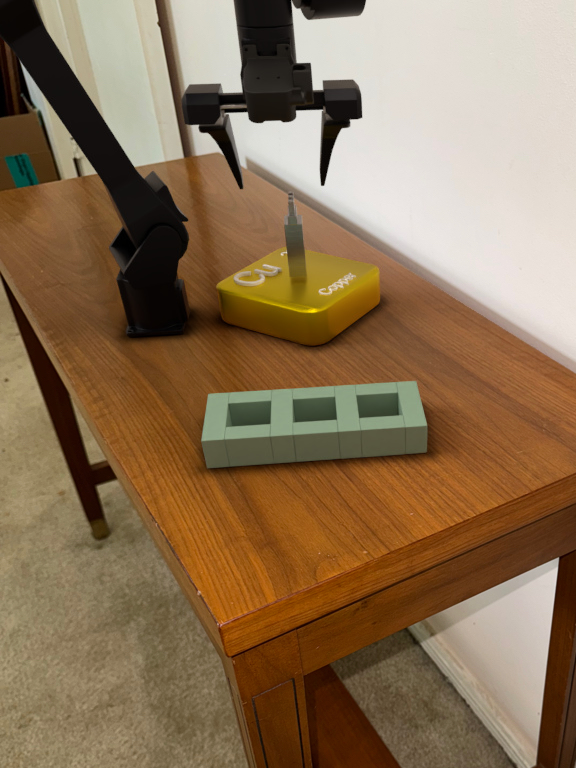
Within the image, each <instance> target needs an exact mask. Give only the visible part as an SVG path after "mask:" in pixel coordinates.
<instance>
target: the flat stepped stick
mask: <svg viewBox="0 0 576 768" xmlns="http://www.w3.org/2000/svg"><path fill="white" fill-rule="evenodd" d="M295 203H296V202H295V193H294V191H291V190H289V191H287V214H286V215H283V228H284V237H285V247H286V248H287V258H288V267H289V276H290V277H304V276H307V268H306V256H305V250H306V247H305V236H304V225H303V214H298V208H297V207H298V206H297V204H295Z"/></svg>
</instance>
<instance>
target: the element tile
mask: <svg viewBox="0 0 576 768" xmlns="http://www.w3.org/2000/svg"><path fill="white" fill-rule="evenodd" d="M305 256H306V268H307V276H304V277H290V276H289V267H288V258H287V248H286V246H283V247H280V248H277V249H275V250H274V251H272V252H270V253H268V254H267V255H265V256H263V257H261V258H259V259H258V260H256V261H254V262H252V263H251V264H249V265H247V266H245V267H243V268H242V269H240V270H238V271H236V272H234V273H233V274H231V275H229V276H227V277H225V278H224V279H222V280H221V281H219V282H217V284H216V286H215V289H216V294H217V298H218V299H217V301H218V305H219V311H220V316H221V317H220V318H221V319H222V321H223V322H225V323H226V324H228V325H230V326H231V325H232V326H235V327H239V328H243V329H245V330H249V331H252V332H257V333H259V334H263V335H267V336H271V337H273V338H278V339H281V340H285V341H288V342H292V343H296V344H299V345H304V346H310V347H316V346H321V345H324V344H327V343H328V342H330V341H331V340H332V339H334V338H335V337H336V336H338V335H339V334H340V333H342V332H343V331H345V330H346V329H347V328H348V327H350V326H351V325H353V324H354V323H356V322H357V321H358V320H359V319H360V318H361V319H362V317H364V316H365V315H367V313H370V311H371V310H373V309H374V308H375V307H377V306H378V305H379V304H380V301H381V273H380V269H379V267H378V266H377V265H375V264H372V263H369V262H364V261H359V260H354V259H349V258H345V257H341V256H336V255H332V254H327V253H323V252H319V251H314V250H310V249H305Z"/></svg>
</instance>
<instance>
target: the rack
mask: <svg viewBox="0 0 576 768" xmlns="http://www.w3.org/2000/svg"><path fill="white" fill-rule="evenodd" d="M204 413H205V414H204V420H203V426H202V433H201V439H200V442H201V447H202V451H203V455H204V460H205V464H206V469H217V468H218V469H219V468H230V467H231V468H232V467H244V466H245V467H246V466H259V465H272V464H273V465H274V464H287V463H298V462H299V463H300V462H301V463H302V462H315V461H329V460H340V459H341V460H343V459H358V458H373V457H386V456H388V457H389V456H402V455H412V454H413V455H414V454H426V453H427V452H428V423H427V418H426V414H425V411H424V406H423V403H422V399H421V394H420V389H419V387H418V381H417V380H405V381H391V382H374V383H360V384H358V383H357V384H343V385H341V384H340V385H329V386H328V385H327V386H312V387H311V386H310V387H297V388H280V389H279V388H278V389H263V390H248V391H247V390H246V391H232V392H217V393H215V392H214V393H208V394H207V399H206V408H205V412H204Z"/></svg>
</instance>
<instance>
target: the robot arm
mask: <svg viewBox="0 0 576 768" xmlns="http://www.w3.org/2000/svg"><path fill="white" fill-rule="evenodd" d="M366 3H367V0H233V7H234V15H235V21H236V22H235V23H236V32H237V41H238V48H239V56H240V64H241V67H240V74H239V77H240V83H241V91H242V92H239V91H238V92H224V91H223V86H222V83H191V84H188V86H187V87H186V89H185V90H184V92H183V95H182V97H181V99H180V100H181V101H180V102H181V110H182V111H181V112H182V116H183V122H184V125H187V126H198V127H197V128H198V131H199V133H200V134H208V135H209V136H210V137H211V138H212V139H213V141H215V143H216V145H217V146H218V148H219V149H220V151H221V153H222V155H223V156H224V159H225V161H226V163H227V165H228V167H229V168H230V171H231V173H232V176H233V177H234V179H235V183H236V185H237V186H238V189H239V190H244V188H245V187H244V177H243V170H242V165H241V161H240V156H239V152H238V148H237V144H236V138H235V136H234V135H235V134H234V131H233V127H232V122H231V117H230V114H240V113H241V114H242V113H247V117H248V120H249V121H250V122H252V123H254V124H264V123H265V122H278V121H279V122H282V123H291V122H294V121H295V120H296V118H297V112H298V111H301V112H302V111H321V118H320V120H321V121H320V145H319V146H320V147H319V179H320V180H319V181H320V186H321V187H324V186H325V185H326V180H327V175H328V172H329V167H330V163H331V158H332V154H333V150H334V147H335V144H336V142H337V139H338V137H339V134H340V132H341V131H342V130H343V129H348V128H351V121H352V120H360V119H363V97H362V92H361V89H360V86H359V84H358V83H357V82H356V81H355V79H353V78H351V79H322V89H314V86H313V73H312V64H311V62H297V49H296V48H297V47H296V37H295V26H294V16H293V15H294V14H293V13H294V12H293V6H294V8H295V9H297V10H300V11H301V14H302V15H303V17H304V18H305V19H306V20H307V21H314V20H315V21H316V20H325V19H338V18H349V17H360V16H361V15H362V14H363V12H364V10H365V8H366ZM0 38H1V40H3V42H5V44H6V45H7V46H8V47H9V48H10V49H11V50H12V52H13V53H14V55H15V56H16V58H17V59H18V60H19V62H20V64H21V65H22V66H23V67H24V69H25V71H26V72H27V73H28V75H29V77H30V78H31V80H32V81H33V82H34V83H35V85H36V87H37V88H38V89H39V91H40V92H41V94H42V95H43V97H44V98H45V99H46V101H47V103H48V104H49V105H50V107H51V108H52V109H53V111H54V113H55V114H56V116H57V117H58V118H59V120H60V122H61V123H62V125H63V126H64V127H65V129H66V130H67V132H68V134H69V135H70V136H71V138H72V139H73V141H74V142H75V143H76V145H77V147H78V148H79V149H80V151H81V152H82V153H83V156H84V157H85V159H87V161H88V162H89V164H90V165H91V167H92V168H93V170H94V171H95V173H96V174H97V176H98V178H100V180H101V181H102V184H103V186H104V188H105V190H106V193H107V195H108V197H109V199H110V202H111V205H112V207H113V209H114V211H115V213H116V215H117V217H118V219H119V221H120V223H121V225H122V226H121V227H120V229H119V231H118V232H117V234H116V235H115V237H114V238H113V240H112V241H111V243H110V244H109V245H108V250H109V252H110V254H111V255H112V257H113V259H114V260H115V262H116V264H117V265H118V268H119V271H118V273H117V276H116V278H115V280H116V284H117V287H118V291H119V295H120V299H121V303H122V307H123V310H124V314H125V317H126V322H127V326H126V329H125V335H126V336H127V337H143V336H144V337H145V336H147V337H148V336H163V335H164V336H165V335H180V334H183V333H184V332H185V328H186V324H187V322H188V321H189V319H190V314H191V309H190V305H189V299H188V294H187V289H186V285H185V280H184V279H182V278H179V275H178V270H179V264H180V263H179V262H180V260H181V259H182V258H183V257H184V256H185V254H186V252H187V250H188V247H189V243H190V234H189V232H188V230H187V226H186V225H185V224H184V223H185V222H186V223H187V222H189V218H188V217H187V215H186V214H185V213H184V212H183V211H182V209H180V207H179V206H178V205H177V204H176V202H175V200H174V198H173V196H172V192H171V191H170V189H169V187H168V185H167V183H165V182H164V180H162V179H161V177H160V176H159V175H158V173H156V171H154V170H151V172H149V173H148V174H147V175H146V176H145V177H144V176H143V175H142V174H141V173H140V172H139V171H138V170H137V168H136V167H135V165H134V164H133V162H132V161H131V159H130V157H129V156H128V155H127V152H125V150H124V148H123V147H122V145H121V144H120V142H119V141H118V139H117V137H116V136H115V134H114V133H113V131H112V129H111V128H110V127H109V125H108V123H107V122H106V120H105V119H104V117H103V116H102V114H101V113H100V111H99V110H98V108H97V106H96V105H95V103H94V102H93V99H91V97H90V96H89V94H88V93H87V90H86V89H85V88H84V86H83V85H82V83H81V81H80V80H79V78H78V77H77V75H76V74H75V72H74V71H73V69H72V67H71V66H70V63H68V61H67V60H66V58H65V56H64V55H63V54H62V52H61V50H60V49H59V47H58V46H57V44H56V42H55V41H54V39H53V37H52V36H51V35H50V33H49V32H48V29H47V28H46V25H45V23H44V21H43V19H42V17H41V13H40V11H39V9H38V7H37V4H36V1H35V0H0Z"/></svg>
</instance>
